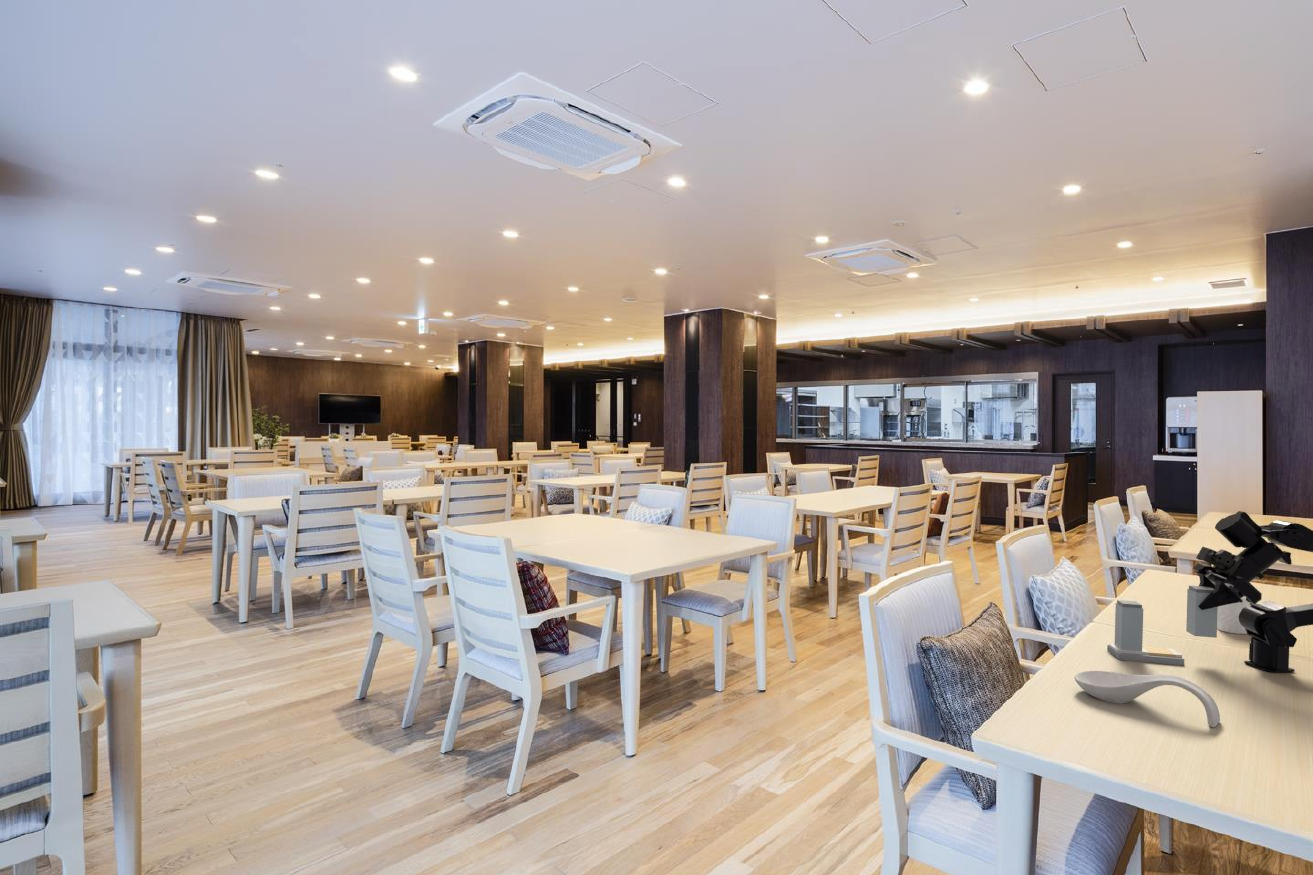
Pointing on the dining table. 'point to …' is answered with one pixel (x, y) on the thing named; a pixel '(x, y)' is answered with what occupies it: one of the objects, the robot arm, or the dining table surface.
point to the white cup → (1231, 617)
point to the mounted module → (1129, 625)
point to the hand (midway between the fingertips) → (1195, 606)
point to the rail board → (1147, 655)
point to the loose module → (1200, 613)
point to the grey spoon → (1140, 688)
